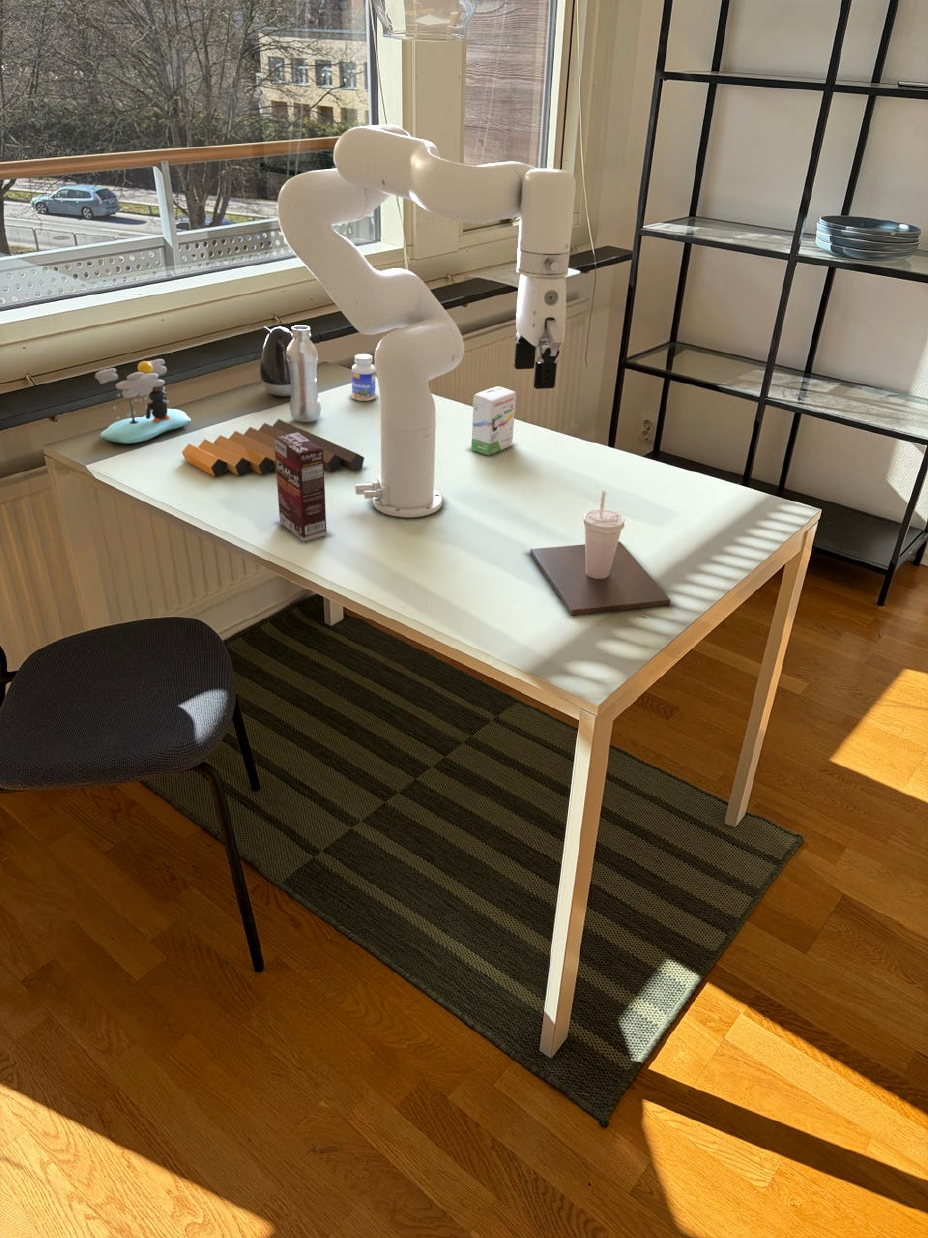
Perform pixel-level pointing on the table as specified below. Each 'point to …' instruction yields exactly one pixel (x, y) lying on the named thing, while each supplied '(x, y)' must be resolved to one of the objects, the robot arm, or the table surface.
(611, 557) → the smoothie
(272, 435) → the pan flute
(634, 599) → the walnut board
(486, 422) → the ink box
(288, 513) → the supplement box
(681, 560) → the table surface
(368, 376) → the pill bottle
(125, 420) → the penguin figurine
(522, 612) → the table surface
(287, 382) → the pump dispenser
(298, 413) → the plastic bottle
